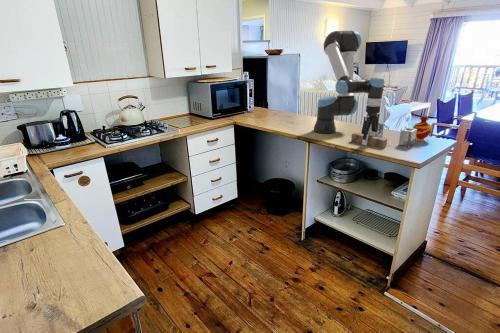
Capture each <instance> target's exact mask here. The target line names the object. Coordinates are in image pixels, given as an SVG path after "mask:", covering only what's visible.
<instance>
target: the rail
mask: <svg viewBox="0 0 500 333" xmlns="http://www.w3.org/2000/svg"><path fill="white" fill-rule="evenodd" d="M362 140H363V134H361V133H358V132H354V133H353V132H352V133H351V140H350V141H351V142H352V143H357V144H361V145H362ZM387 144H388V138H385V137H382V138H380V137H375V136H370V135H368V140H367V145H366V146H371V147H377V148H379V149H384V147H385V148H386V147H387Z"/></svg>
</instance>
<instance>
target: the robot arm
mask: <svg viewBox="0 0 500 333" xmlns="http://www.w3.org/2000/svg"><path fill="white" fill-rule="evenodd" d="M361 45H362V37H361V34H360V33H359V32H358V31H356V30H335V31H332V32H330V33H328V34H327V36H326V37H325V39H324V42H323V51H324V54H325V55H326V56H327V57H328V60H329V62H330V65H331V68H332V70H333V73H334V76H335V78H336V82H335V92H336V93H337V95H336V96H323V97H321V98H319V99H318V101H317V111H316V112H317V113H316V114H317V115H316V121H315V124H314V126H313V132H315V133H317V134H324V135H330V134H334V133H336V131H337V127H336V124H335V123H336V122H335V117H340V116H351V115H354V114H355V113H356V112H357V111H358V110H357V109H358V107H359V106H358V105H359V101H358V99H357V98H356V97H355V96H356V95H355V94H363V93H364V94H367V98H366V99H367V100H366V107H365V112H366V113H367V115H366V116H364V117H363V123H362V127H361V133H360V134H363V140H362V144H361V145H363V146H368V145H367V140H368V131H369V128H370V125H371V129H372V131H371V132H370V136H375V132H377V131H378V123H380V112H381V105H382V97H383V93H384V89H385V88H384V87H385V78H384V77H378V76H377V77H376V76H374V77H373V76H372V77H370V79H367V78H361V79H354V70H355V67H354V66H355V55H356V54H357V53H358V50H359V49H360V47H361Z"/></svg>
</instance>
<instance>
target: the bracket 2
mask: <svg viewBox="0 0 500 333" xmlns="http://www.w3.org/2000/svg"><path fill="white" fill-rule="evenodd" d="M417 130H418V129H414V128H413V127H406V128H405V129H400V133H399V140H398V146H403V147H407V148H410V147H411V146H414V145H415V144H416V135H417Z"/></svg>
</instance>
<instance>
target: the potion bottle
mask: <svg viewBox="0 0 500 333" xmlns="http://www.w3.org/2000/svg"><path fill="white" fill-rule="evenodd" d="M419 119H420V121H419V122H417V123H415V125H413V127H412V128H414V129H418V130H417V135H416V141H417V142H426V141H425V138H427V137H429V136H430V135H431V133H432V132H433V127H432V125H431V124H429V123H428V122H427V121H429V116H428V115H420V118H419ZM416 141H415V142H416Z"/></svg>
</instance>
